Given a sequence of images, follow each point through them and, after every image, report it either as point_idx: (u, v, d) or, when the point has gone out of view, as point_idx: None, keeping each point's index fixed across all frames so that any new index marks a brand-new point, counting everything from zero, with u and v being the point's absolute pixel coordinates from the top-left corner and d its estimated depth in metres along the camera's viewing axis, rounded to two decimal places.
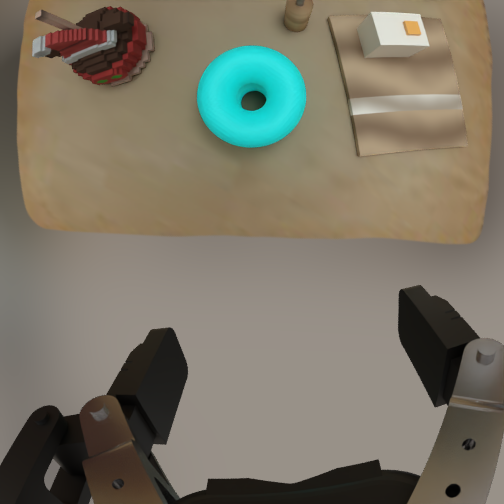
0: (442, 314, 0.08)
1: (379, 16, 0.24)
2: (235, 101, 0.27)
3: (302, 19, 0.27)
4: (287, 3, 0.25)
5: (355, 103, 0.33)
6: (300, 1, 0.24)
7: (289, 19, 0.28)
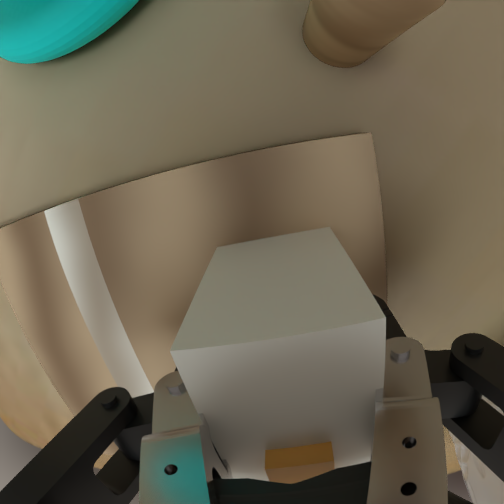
0: None
1: (354, 357, 0.06)
2: None
3: None
4: None
5: (70, 215, 0.11)
6: None
7: None
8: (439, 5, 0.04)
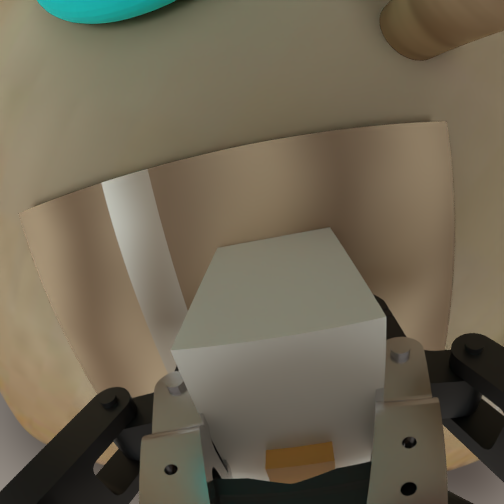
0: None
1: (355, 357, 0.06)
2: None
3: None
4: None
5: (135, 187, 0.11)
6: None
7: None
8: None
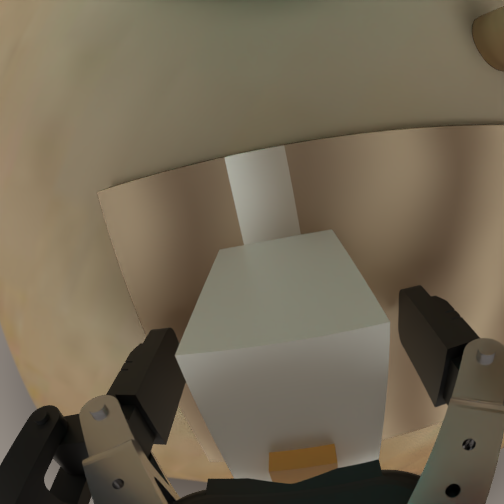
0: (442, 314, 0.08)
1: (358, 361, 0.06)
2: None
3: None
4: None
5: (268, 165, 0.10)
6: None
7: None
8: None
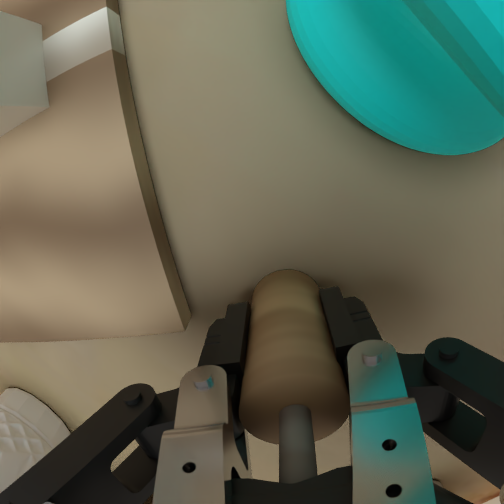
0: (345, 314, 0.09)
1: None
2: None
3: (280, 337, 0.08)
4: (345, 410, 0.07)
5: (96, 40, 0.08)
6: (302, 448, 0.06)
7: (324, 323, 0.09)
8: (257, 436, 0.08)
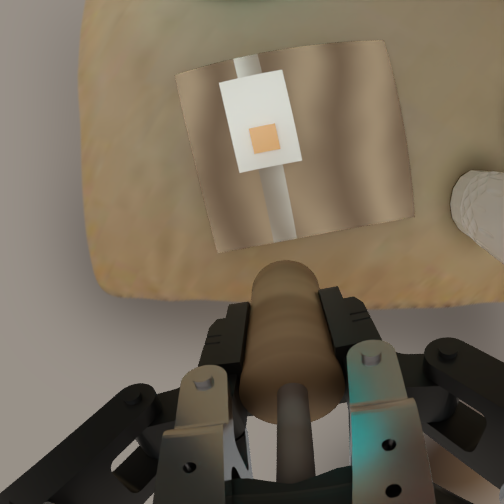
0: (345, 315, 0.09)
1: (274, 82, 0.18)
2: None
3: (279, 320, 0.09)
4: (340, 390, 0.08)
5: (251, 61, 0.22)
6: (299, 423, 0.06)
7: (320, 309, 0.10)
8: (256, 415, 0.08)
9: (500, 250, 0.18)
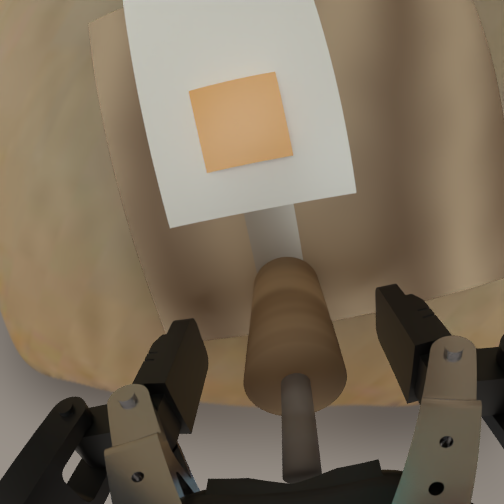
0: (414, 312, 0.08)
1: None
2: None
3: (282, 313, 0.09)
4: (342, 380, 0.08)
5: None
6: (303, 411, 0.07)
7: (321, 303, 0.10)
8: (260, 406, 0.08)
9: None
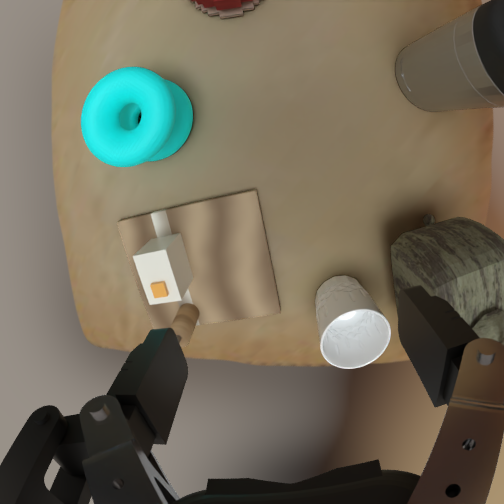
0: (442, 314, 0.08)
1: (162, 257, 0.33)
2: (121, 102, 0.26)
3: (176, 321, 0.37)
4: (188, 337, 0.36)
5: (161, 215, 0.37)
6: None
7: (190, 318, 0.38)
8: None
9: None
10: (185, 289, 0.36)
